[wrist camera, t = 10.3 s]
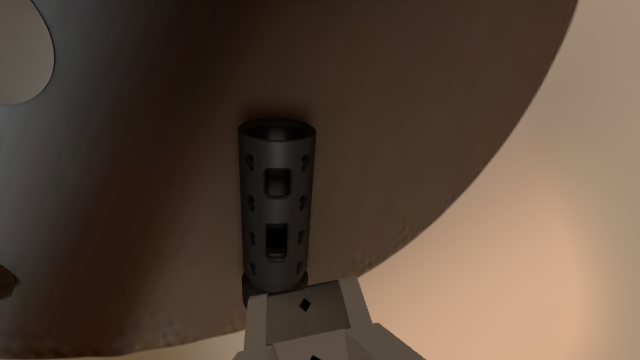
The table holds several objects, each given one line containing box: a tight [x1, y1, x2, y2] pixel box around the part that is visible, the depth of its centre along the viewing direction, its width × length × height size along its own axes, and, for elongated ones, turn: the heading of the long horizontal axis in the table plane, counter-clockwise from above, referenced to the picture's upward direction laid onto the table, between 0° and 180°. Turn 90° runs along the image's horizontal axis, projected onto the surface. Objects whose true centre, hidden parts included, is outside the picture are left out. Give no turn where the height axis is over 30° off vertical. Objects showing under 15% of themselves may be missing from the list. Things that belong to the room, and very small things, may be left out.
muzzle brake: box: [238, 118, 316, 309], centre depth 44 cm, size 10×28×10 cm, turn 176°
